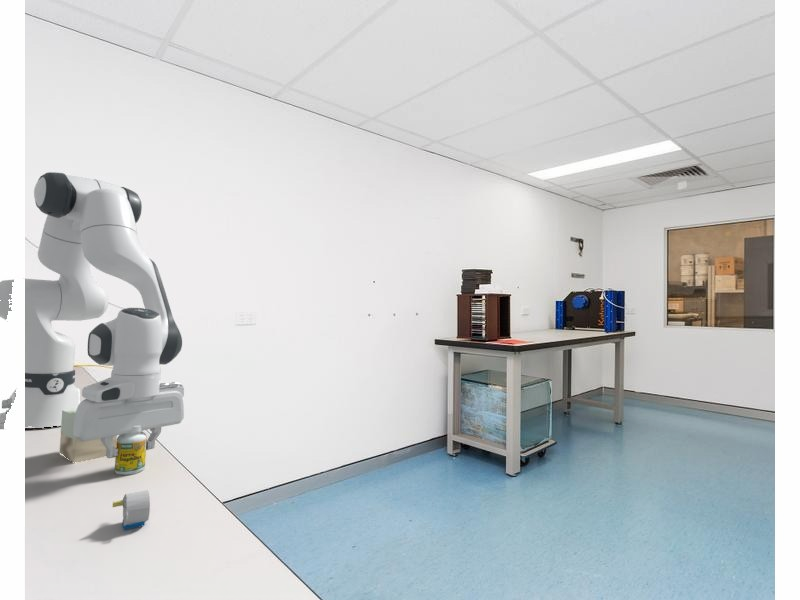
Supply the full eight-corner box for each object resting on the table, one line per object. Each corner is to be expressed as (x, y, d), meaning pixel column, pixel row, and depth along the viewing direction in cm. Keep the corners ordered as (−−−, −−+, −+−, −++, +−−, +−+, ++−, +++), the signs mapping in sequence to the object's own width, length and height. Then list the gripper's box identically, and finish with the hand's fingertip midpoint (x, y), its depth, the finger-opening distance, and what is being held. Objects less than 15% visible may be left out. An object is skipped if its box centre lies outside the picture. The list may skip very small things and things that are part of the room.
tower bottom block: (59, 455, 96) (60, 432, 96) (99, 446, 103) (101, 425, 103) (73, 464, 92) (75, 440, 92) (115, 454, 98) (116, 432, 99)
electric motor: (109, 520, 70) (111, 489, 70) (143, 513, 73) (145, 483, 73) (112, 540, 64) (115, 506, 64) (149, 531, 67) (151, 499, 67)
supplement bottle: (144, 464, 94) (147, 419, 94) (145, 473, 89) (148, 426, 89) (114, 468, 91) (117, 422, 91) (114, 477, 86) (117, 429, 86)
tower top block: (60, 432, 96) (62, 410, 97) (101, 425, 103) (102, 404, 103) (75, 440, 92) (77, 416, 92) (116, 432, 99) (118, 410, 99)
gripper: (177, 379, 101) (172, 438, 100) (72, 389, 84) (67, 461, 83) (191, 383, 97) (187, 444, 97) (85, 394, 80) (80, 469, 80)
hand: (130, 452), depth 90 cm, fingers open, 6 cm apart
